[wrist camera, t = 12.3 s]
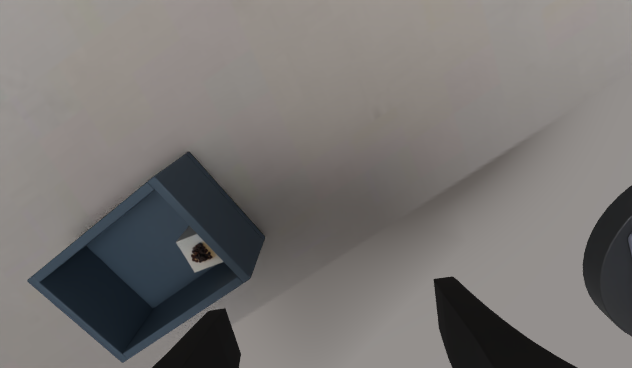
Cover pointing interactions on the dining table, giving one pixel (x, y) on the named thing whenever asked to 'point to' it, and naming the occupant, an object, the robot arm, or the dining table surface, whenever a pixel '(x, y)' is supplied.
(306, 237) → the dining table surface
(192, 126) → the dining table surface
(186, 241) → the cube with brown bumps
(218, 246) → the bin
